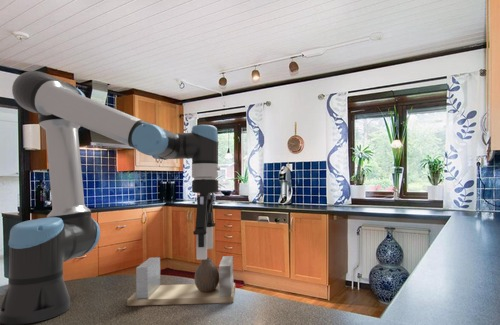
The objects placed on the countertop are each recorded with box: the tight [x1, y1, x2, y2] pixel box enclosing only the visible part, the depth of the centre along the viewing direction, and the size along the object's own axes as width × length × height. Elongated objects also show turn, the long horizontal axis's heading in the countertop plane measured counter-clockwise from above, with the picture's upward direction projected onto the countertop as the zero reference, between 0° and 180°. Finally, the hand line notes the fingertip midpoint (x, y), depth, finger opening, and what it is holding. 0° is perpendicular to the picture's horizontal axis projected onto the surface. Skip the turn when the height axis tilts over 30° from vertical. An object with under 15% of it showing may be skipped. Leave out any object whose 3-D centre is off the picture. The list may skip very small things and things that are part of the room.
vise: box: [126, 255, 236, 307], centre depth 93 cm, size 28×12×10 cm, turn 90°
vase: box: [194, 257, 219, 292], centre depth 93 cm, size 7×7×9 cm
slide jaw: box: [135, 256, 161, 298], centre depth 93 cm, size 3×12×8 cm, turn 0°
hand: (205, 253), depth 93 cm, fingers open, 13 cm apart
